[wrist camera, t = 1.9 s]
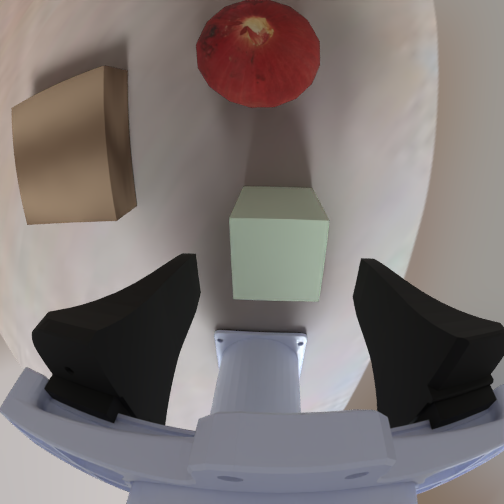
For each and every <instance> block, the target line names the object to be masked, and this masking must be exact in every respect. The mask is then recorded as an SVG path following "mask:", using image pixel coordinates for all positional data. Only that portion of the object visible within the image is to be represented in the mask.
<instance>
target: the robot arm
mask: <svg viewBox="0 0 504 504" xmlns="http://www.w3.org/2000/svg"><path fill="white" fill-rule="evenodd" d="M200 293H201V291H200V284H199V276H198V268H197V260H196V254H184V253H183V254H181V255H179V256H177V257H175V258H174V259H172V260H171V261H169V262H168V263H166V264H165V265H163V266H162V267H160V268H159V269H157V270H156V271H154V272H152V273H151V274H149V275H147V276H146V277H144V278H143V279H141V280H139V281H138V282H136V283H134V284H132V285H130V286H128V287H126V288H124V289H122V290H120V291H118V292H116V293H114V294H111V295H109V296H106V297H104V298H101V299H98V300H96V301H93V302H90V303H86V304H83V305H79V306H76V307H71V308H67V309H61V310H56V311H50V312H48V313H47V314H46V316H45V317H44V318H43V319H42V320H41V321H40V323H39V324H38V325H37V326H36V327H35V329H34V330H33V332H32V340H33V343H34V346H35V348H36V350H37V352H38V353H39V355H40V356H41V358H42V359H43V361H44V362H45V364H46V365H47V367H48V368H49V370H50V371H51V372H52V374H53V375H52V376H51V378H50V380H49V379H48V378H47V377H45V376H44V375H42V374H40V373H38V372H36V371H34V370H32V369H30V368H28V367H26V368H25V369H24V371H23V372H22V374H21V375H20V377H19V378H18V380H17V381H16V383H15V384H14V386H13V388H12V389H11V391H10V392H9V394H8V396H7V397H6V399H5V401H4V402H3V404H2V406H1V408H0V412H1V413H2V414H3V415H4V416H5V417H6V418H7V419H8V420H9V421H10V422H11V423H12V424H13V425H14V426H15V427H16V428H18V429H19V430H20V431H21V432H22V433H23V434H24V435H25V436H27V437H28V438H29V439H30V440H32V441H33V442H34V443H35V444H37V445H38V446H40V447H41V448H43V449H45V450H46V451H48V452H49V453H51V454H53V455H54V456H56V457H58V458H59V459H61V460H63V461H65V462H66V463H68V464H70V465H72V466H73V467H75V468H77V469H79V470H81V471H83V472H85V473H87V474H89V475H91V476H93V477H95V478H97V479H99V480H101V481H104V482H106V483H108V484H110V485H113V486H115V487H118V488H120V489H122V490H125V491H128V492H130V493H129V496H128V500H127V503H126V504H418V503H417V494H419V493H422V492H425V491H427V490H430V489H432V488H435V487H437V486H439V485H442V484H444V483H446V482H448V481H450V480H453V479H454V478H457V477H459V476H461V475H463V474H464V473H466V472H469V471H470V470H472V469H474V468H476V467H478V466H480V465H481V464H483V463H485V462H487V461H488V460H490V459H492V458H493V457H495V456H497V455H498V454H499V453H501V452H502V451H503V450H504V384H502V385H500V386H498V387H497V388H495V389H494V390H492V388H491V386H490V384H492V383H493V378H492V376H491V373H492V372H493V370H494V369H495V368H496V366H497V365H498V363H499V362H500V360H501V359H502V357H503V356H504V327H503V326H502V325H501V323H498V322H494V321H490V320H486V319H482V318H479V317H476V316H473V315H470V314H467V313H464V312H462V311H459V310H457V309H455V308H452V307H450V306H448V305H446V304H444V303H441V302H440V301H438V300H436V299H434V298H432V297H431V296H429V295H427V294H425V293H424V292H422V291H421V290H419V289H418V288H416V287H414V286H413V285H411V284H410V283H409V282H407V281H405V280H404V279H403V278H401V277H400V276H399V275H397V274H396V273H395V272H393V271H392V270H390V269H389V268H388V267H386V266H385V265H383V264H382V263H380V262H379V261H377V260H375V259H363V258H361V261H360V266H359V271H358V276H357V280H356V285H355V289H354V293H353V300H354V306H355V311H356V315H357V318H358V321H359V324H360V327H361V330H362V333H363V336H364V339H365V342H366V345H367V348H368V351H369V355H370V358H371V362H372V368H373V373H374V380H375V388H376V397H377V411H375V410H345V411H332V412H311V413H301V409H300V385H299V379H300V374H301V369H302V364H303V359H304V353H305V348H306V343H307V335H306V334H304V333H271V332H246V331H229V330H217V331H215V334H214V338H215V345H216V352H217V358H218V365H219V374H218V379H217V384H216V389H215V393H214V398H213V403H212V408H211V413H210V415H208V416H205V417H203V418H200V419H199V420H198V424H197V427H196V431H192V430H186V429H180V428H175V427H170V426H165V422H166V415H167V408H168V402H169V396H170V391H171V386H172V382H173V377H174V373H175V368H176V364H177V360H178V357H179V354H180V351H181V348H182V345H183V343H184V340H185V338H186V335H187V333H188V330H189V328H190V325H191V323H192V320H193V318H194V315H195V313H196V310H197V306H198V302H199V297H200ZM221 339H222V340H221ZM299 342H302V343H299Z"/></svg>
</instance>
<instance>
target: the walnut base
mask: <svg viewBox="0 0 504 504" xmlns="http://www.w3.org/2000/svg"><path fill="white" fill-rule="evenodd" d="M127 78H128V71H126V70H122V69H118V68H113V67H109V66H101V67H98V68H95V69H93V70H90V71H87V72H85V73H82V74H79V75H77V76H74V77H72V78H70V79H67V80H65V81H63V82H60V83H58V84H56V85H54V86H52V87H50V88H48V89H46V90H44V91H42V92H40V93H38V94H36V95H34V96H32V97H30V98H28V99H27V100H25V101H23V102H21V103H19V104H18V105H16V106H14V107H13V108H12V133H13V146H14V156H15V164H16V171H17V178H18V184H19V189H20V195H21V199H22V204H23V209H24V213H25V217H26V221H27V225H32V224H50V223H70V222H96V221H117V220H119V219H120V218H121V217H123V216H124V215H125V214H127V213H128V212H129V211H131V210H132V209H133V208H135V207H136V206H137V202H136V195H135V187H134V179H133V170H132V161H131V150H130V137H129V120H128V84H127Z"/></svg>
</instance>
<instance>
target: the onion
mask: <svg viewBox="0 0 504 504" xmlns="http://www.w3.org/2000/svg"><path fill="white" fill-rule="evenodd" d="M196 50H197V63H198V69H199V71H200V72H201V74H202V75H203V77H204V78H205V80H206V82H207V83H208V85H209V87H211V88H212V89H213V90H215V91H216V92H218V93H219V94H220V95H222V96H223V97H224V98H226V99H227V100H228V101H230V102H234V103H237V104H241V105H244V106H247V107H251V108H255V107H276V106H279V105H281V104H284V103H286V102H289V101H291V100H294V99H296V98H297V97H298V96H299V95H301V94H302V93H303V92H304V91H305V90H306V89H307V88H308V87H309V86H310V85H311V84H312V82H313V80H314V78H315V75H316V73H317V71H318V68H319V66H320V41H319V39H318V38H317V36H316V34H315V32H314V30H313V29H312V27H311V25H310V23H309V22H308V20H307V19H306V18H304V17H303V16H302V15H300V14H299V13H298V12H296V11H295V10H294V9H292V8H291V7H289V6H286V5H283V4H280V3H277V2H274V1H271V0H245V1H242V2H238V3H235V4H232V5H229V6H226V7H224V8H223V9H222V10H220V11H219V12H218V13H217V14H216V15H214V16H213V17H212V18H211V19H210V20H209V21H208V22H207V23H206V25H205V27H204V29H203V31H202V33H201V35H200V37H199V39H198V42H197V44H196Z"/></svg>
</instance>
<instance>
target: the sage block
mask: <svg viewBox="0 0 504 504" xmlns="http://www.w3.org/2000/svg"><path fill="white" fill-rule="evenodd" d="M229 226H230V248H231V268H232V286H233V299H241V300H266V301H310V302H319V296H320V290H321V283H322V277H323V270H324V262H325V255H326V247H327V239H328V230H329V219H328V217H327V215H326V213H325V211H324V209H323V207H322V206H321V204H320V202H319V200H318V198H317V196H316V194H315V193H314V191H313V189H312V188H299V187H264V186H243V189H242V191H241V193H240V195H239V197H238V200H237V202H236V204H235V206H234V208H233V211H232V213H231V215H230V217H229Z"/></svg>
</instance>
